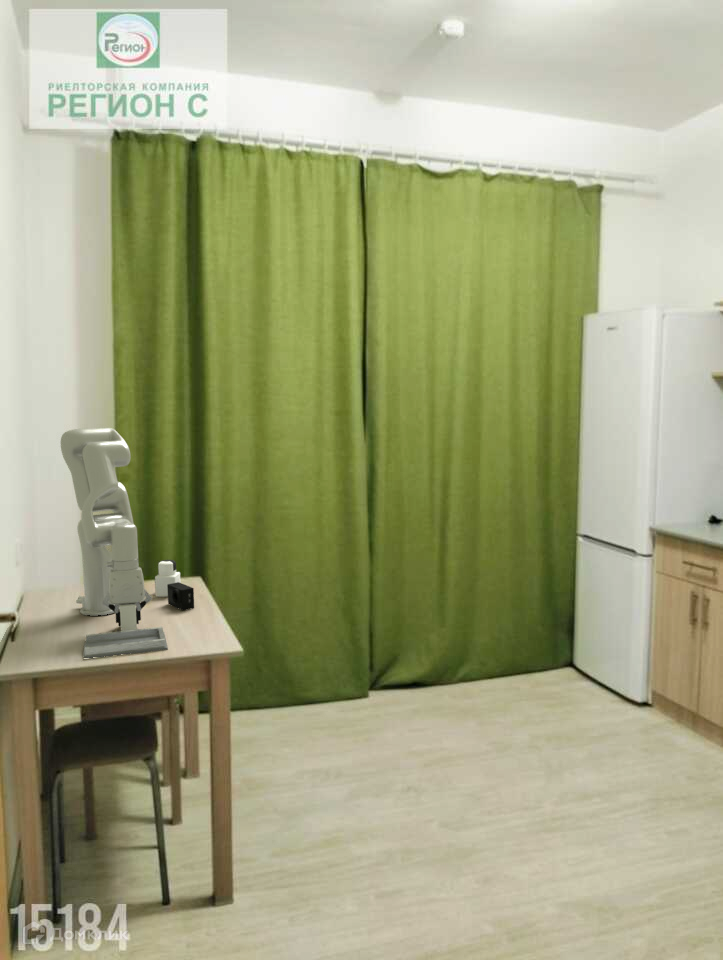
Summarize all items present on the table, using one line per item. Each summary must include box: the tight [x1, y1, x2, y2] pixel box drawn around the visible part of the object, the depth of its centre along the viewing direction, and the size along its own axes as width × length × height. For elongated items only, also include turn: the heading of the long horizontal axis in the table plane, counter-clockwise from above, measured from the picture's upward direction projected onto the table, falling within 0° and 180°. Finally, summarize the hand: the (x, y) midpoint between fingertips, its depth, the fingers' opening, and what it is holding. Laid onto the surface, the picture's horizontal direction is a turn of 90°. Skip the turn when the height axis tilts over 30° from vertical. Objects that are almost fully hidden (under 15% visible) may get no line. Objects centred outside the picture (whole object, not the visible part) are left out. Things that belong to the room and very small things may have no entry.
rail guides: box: [85, 626, 166, 656], centre depth 212 cm, size 21×12×2 cm, turn 108°
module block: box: [120, 603, 138, 631], centre depth 228 cm, size 4×7×8 cm, turn 18°
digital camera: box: [167, 582, 195, 611], centre depth 251 cm, size 10×5×7 cm, turn 41°
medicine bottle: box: [154, 559, 182, 598], centre depth 266 cm, size 7×7×12 cm
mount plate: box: [82, 633, 169, 659], centre depth 212 cm, size 22×14×1 cm, turn 108°
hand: (128, 623), depth 228 cm, fingers closed on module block, 4 cm apart
